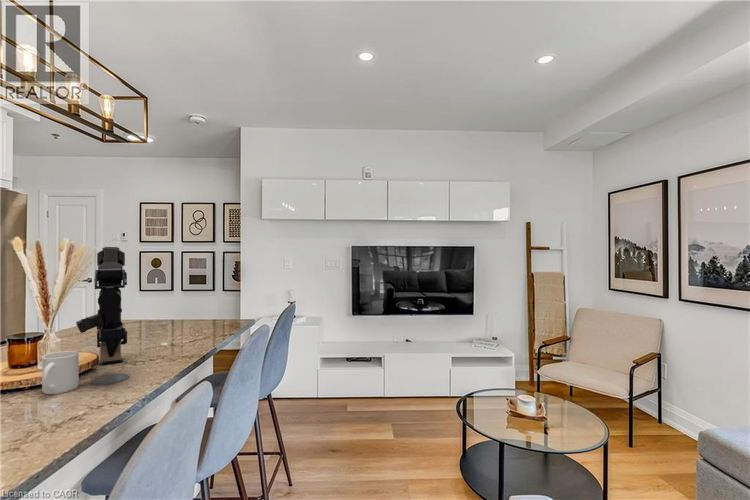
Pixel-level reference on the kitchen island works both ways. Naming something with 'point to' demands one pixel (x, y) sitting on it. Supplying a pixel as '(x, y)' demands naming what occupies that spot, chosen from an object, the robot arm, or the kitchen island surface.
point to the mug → (60, 372)
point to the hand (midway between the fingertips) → (110, 355)
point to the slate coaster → (109, 379)
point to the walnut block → (104, 353)
